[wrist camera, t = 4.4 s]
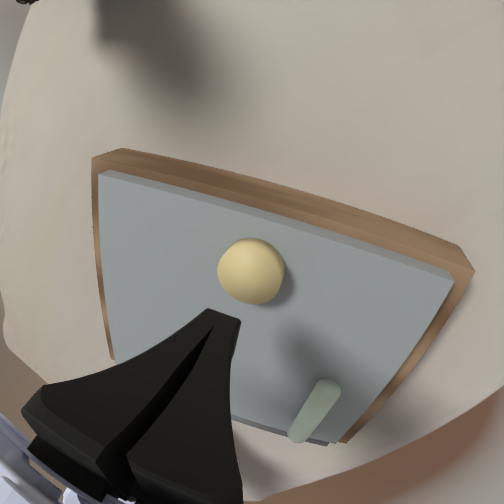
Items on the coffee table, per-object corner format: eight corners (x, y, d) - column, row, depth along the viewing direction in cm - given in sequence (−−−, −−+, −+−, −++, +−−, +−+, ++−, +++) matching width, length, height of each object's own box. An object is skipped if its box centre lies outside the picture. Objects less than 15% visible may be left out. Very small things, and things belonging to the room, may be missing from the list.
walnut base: (349, 416, 24) (346, 443, 22) (127, 338, 28) (110, 358, 25) (459, 246, 15) (475, 271, 13) (121, 147, 19) (91, 157, 16)
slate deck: (332, 438, 22) (327, 464, 19) (122, 362, 24) (107, 382, 22) (449, 271, 13) (463, 300, 11) (109, 169, 16) (78, 182, 14)
